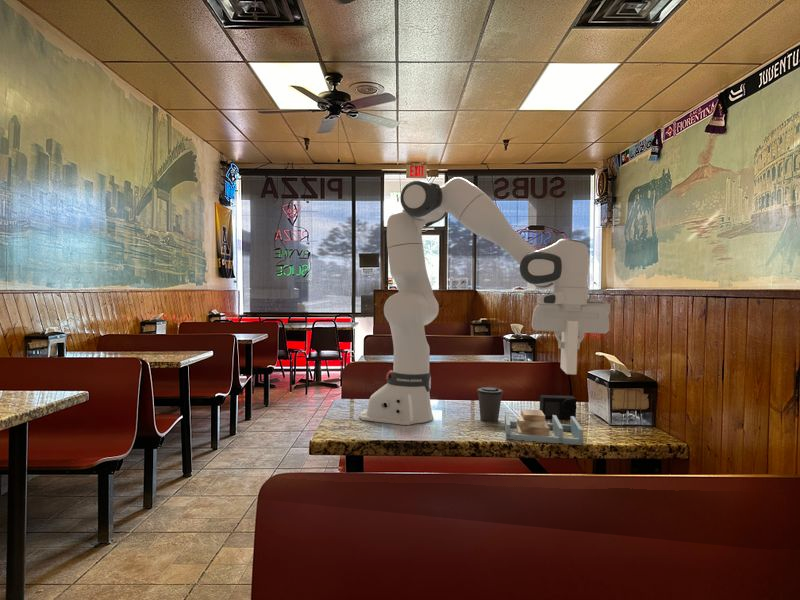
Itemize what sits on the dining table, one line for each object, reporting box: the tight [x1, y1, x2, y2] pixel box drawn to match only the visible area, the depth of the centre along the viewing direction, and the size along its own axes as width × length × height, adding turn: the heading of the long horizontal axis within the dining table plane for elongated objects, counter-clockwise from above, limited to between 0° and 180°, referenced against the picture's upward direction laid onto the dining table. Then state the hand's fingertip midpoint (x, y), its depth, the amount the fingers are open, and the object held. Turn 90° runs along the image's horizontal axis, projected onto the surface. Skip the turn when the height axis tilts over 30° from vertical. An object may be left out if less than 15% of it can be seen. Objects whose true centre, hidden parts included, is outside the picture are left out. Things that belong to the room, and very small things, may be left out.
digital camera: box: [539, 394, 577, 421], centre depth 161 cm, size 10×5×7 cm, turn 89°
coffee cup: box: [476, 386, 504, 423], centre depth 157 cm, size 8×8×10 cm
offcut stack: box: [515, 408, 550, 436], centre depth 142 cm, size 8×10×6 cm
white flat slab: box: [559, 320, 579, 375], centre depth 140 cm, size 2×12×14 cm, turn 170°
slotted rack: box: [504, 411, 584, 446], centre depth 142 cm, size 20×15×4 cm
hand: (568, 348), depth 140 cm, fingers closed on white flat slab, 2 cm apart
